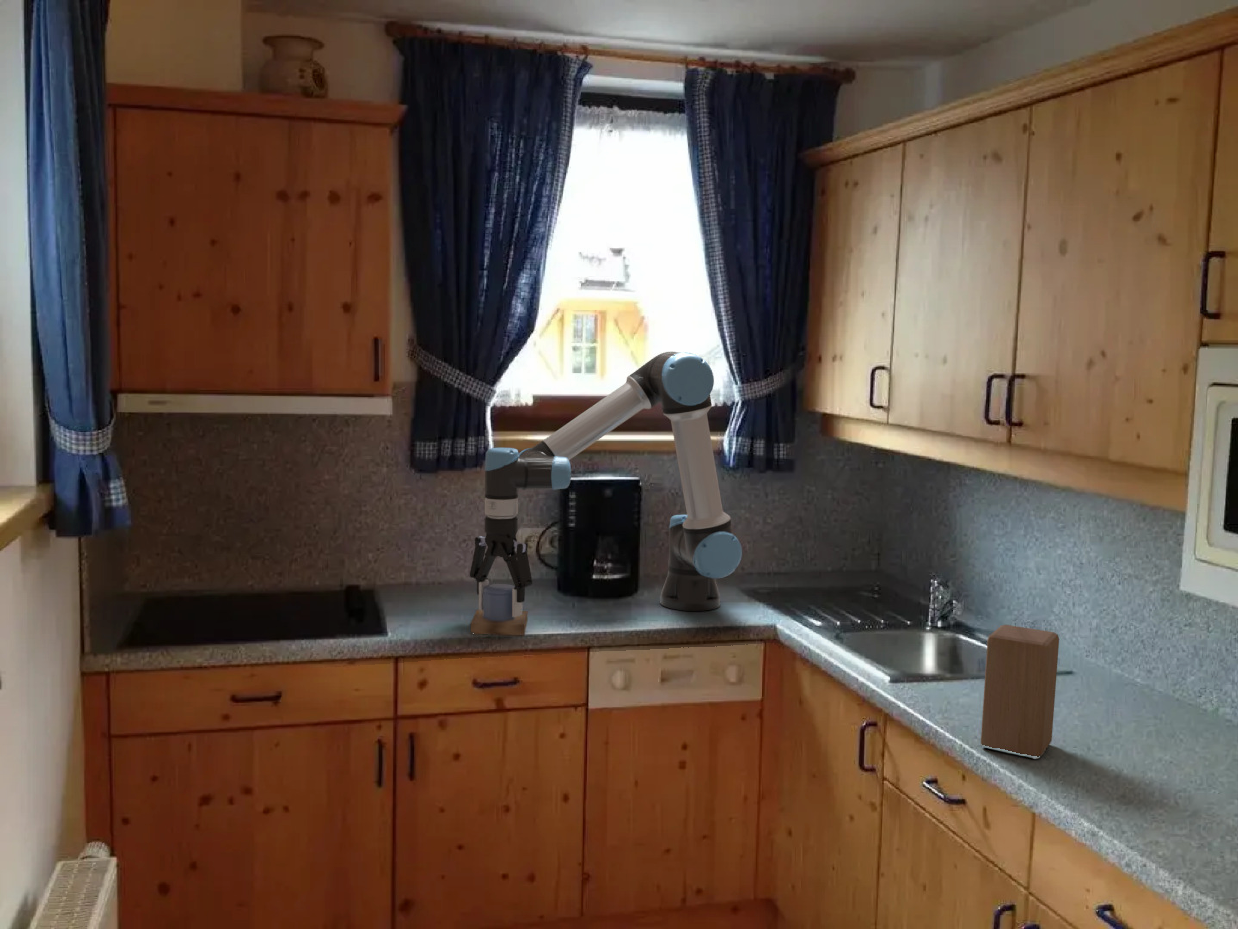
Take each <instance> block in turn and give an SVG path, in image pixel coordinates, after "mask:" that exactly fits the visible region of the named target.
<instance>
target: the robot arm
mask: <svg viewBox="0 0 1238 929" xmlns="http://www.w3.org/2000/svg"><path fill="white" fill-rule="evenodd" d="M714 379H715V377H714V373H713V370H712V368H711V365H710V364H709V363H708V362H707V361H706V360H705V359H704V358H702V357H700V356H698V355H696V354H694V353H691V352H684V351H683V352H677V351H664V352H661V353H659V354H657V355H655V356H654V357H652V358H651V359H650V360H648V361H647V362H646V363H645V364H643V365H642V366H640V367H639V368H638V369H636V370H635V371H634V372H632V373H631V374H630V375H628V376H627V377H626V380H625V381H626V382H625V383H624V384H622V385H620V386H619V387H618V388H616V389H615V390H614V391H612V392H611V393H609V394H607V396H605V397H604V398H602V399H600V400H599V401H598V402H596V403H595V404H594V405H592V406H591V407H589V408H588V409H587V410H585V411H583V412H582V413H580V414H579V415H577V416H576V417H575V418H573V419H572V420H570V421H569V422H568V423H566V424H564V425H563V426H562V427H560V428H559V429H558V430H556V431H554V432H553V433H552V434H550V435H548V436H547V437H546V438H544V439H542V441H540V442H539V443H537V444H535V445H534V446H532V447H531V448H530V447H529V448H525V449H523V450H521V451H520V452H519V450H518V449H516V448H515V447H493V448H489V449H488V450H487V451H486V452H485V462H484V468H483V469H484V514H485V515H486V516H485V517H484V533H486V534H485V535H479V536H476V537H474V545H475V546H474V551H473V556H472V557H473V558H472V561H471V566H470V571H469V577H470V578H473V579H474V580H475V581H476V593H477V595H478V610H483V601H484V587H485V586H487V585H490V580H488V579H489V577H488V575H489V573H490V571H491V569H492V566H493V565H494V562H495V559H496V558H497V557H499V558H502V559H503V561H504V562H505V563H506V566H507V568H508V571H509V573H510V576H511V579H512V581H513V584H514V586H515V587H514V588H513V589H512V617H517V616H520V615H522V611H523V603H524V602H525V600H526V598H525V595H526V591H525V589H526V588H527V587H530V586H532V585H533V578H532V574H531V568H530V561H529V556H528V547H529V544H528V543H527V542H520V541H518V539H517V533H518V529H519V528H518V527H519V522H518V521H519V520H518V517H517V515H518V514H519V506H518V505H519V490H520V491H521V490H522V491H525V490H553V491H556V490H560V489H561V490H565V489H567V488H569V486H570V484H571V480H572V479H571V478H572V468H571V462H570V460H572V459H573V458H574V457H576V456H577V455H579V454H580V453H582V452H583V451H584V450H586V449H587V448H589V447H590V446H591V445H593V444H594V443H595V442H598V441H599V440H600V439H601V438H603V437H605V436H606V435H607V434H609V433H611V432H612V431H613V430H615V429H616V428H617V427H618V426H621V425H622V424H623V423H624V422H626V421H628V420H629V419H631V418H632V417H634V416H635V415H636V414H638V413H639V412H640V411H642V410H645V409H646V410H650V409H652V408H653V407H654V406H657V405H659V404H660V403H661V409H662V413H663V416H665V417H667V418H668V419H669V420H670V424H671V429H672V436H673V442H674V446H675V451H676V458H677V464H678V470H679V474H680V475H679V476H680V481H681V487H682V494H683V498H684V499H683V500H684V504H685V509H686V510H685V512H686V514H676V515H675V514H674V515H673V516H671V517H670V520H669V526H668V564H667V566H668V568H667V569H668V572H667V575H666V578H665V582H664V584H663V587H662V589H661V592H660V600H659V601H660V602H659V603H660V605H661V606H663V607H665V608H668V609H672V610H677V611H689V612H698V611H699V612H701V611H703V612H704V611H710V610H714V609H718V608H719V607H720V606H721V595H720V590H719V587H718V585H717V581H716V580H717V579H722V578H725V577H728V576H730V575H731V574H732V573H733V572H735V571H736V569H737V568H738V566H739V565H740V563H741V560H742V556H743V549H742V544H741V542H740V541H739V539H738V537H737V536H735V535H734V533H733V531H734V530H733V525H732V518H731V516H730V515H729V514H727V513H726V512H725V511H724V510H723V505H722V499H721V492H720V488H719V487H720V485H719V480H718V474H717V467H716V463H715V462H716V461H715V455H714V450H713V444H712V438H711V432H710V426H709V425H710V424H709V420H708V419H709V418H708V413H709V411H710V409H711V408H712V406H713V402H712V398H711V393H712V392H713V388H714V384H715V380H714Z"/></svg>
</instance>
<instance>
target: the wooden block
mask: <svg viewBox="0 0 1238 929" xmlns="http://www.w3.org/2000/svg"><path fill="white" fill-rule="evenodd" d="M986 643H987V644H986V658H985V669H984V670H985V672H984V673H985V674H984V686H983V687H984V688H983V689H984V690H983V704H982V715H981V716H982V717H981V719H982V720H981V732H980V745H981V744H982V745H985V746H989V747H992V748H1000V749H1005V750H1008V751H1012V752H1016V753H1020V754H1027V755H1031V756H1037V757H1039V756H1041V755H1042V754H1043V755H1044V753H1045V752H1046V751H1047V749H1048V747H1049V746H1050V744H1051V743H1052V740H1053V729H1054V728H1053V727H1054V726H1053V725H1054V714H1055V713H1054V712H1055V703H1056V702H1055V700H1056V687H1057V676H1058V675H1057V673H1058V660H1059V647H1060V638H1059V634H1058V633H1057V632H1055V631H1048V630H1044V629H1043V630H1041V629H1036V628H1028V627H1023V626H1018V625H1017V626H1016V625H1009V624H1003V625H1000V626H999V627H998V628H996V630H995V631H993V632H992V633H991V634H989V635H988V638H987V642H986ZM982 745H981V746H982ZM1048 745H1049V746H1048ZM1046 748H1047V749H1046ZM1044 751H1045V752H1044ZM1043 755H1042V756H1043ZM1042 756H1041V757H1042Z"/></svg>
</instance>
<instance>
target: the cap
mask: <svg viewBox="0 0 1238 929" xmlns="http://www.w3.org/2000/svg"><path fill="white" fill-rule="evenodd" d="M514 587H515V585H513V584H508V583H492V584H489V585H487V586H485V587H484V601H483V618H484V619H487V620H489V621H508V620H514V618H515V617H512V589H513V588H514Z"/></svg>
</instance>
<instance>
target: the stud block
mask: <svg viewBox="0 0 1238 929" xmlns="http://www.w3.org/2000/svg"><path fill="white" fill-rule="evenodd" d="M528 613H529V612H528V611H527V610H522V615H520V616H517V617H515V618H514V620H508V621H489V620H487V619H484V618H483V610H479V609H476V610H475V613H474V615H473V618H472V620H471V622H470V634H471V633H474V634H473V635H482V634H493V635H494V636H525V633H526V630H527V625H528ZM493 635H492V636H493Z"/></svg>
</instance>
